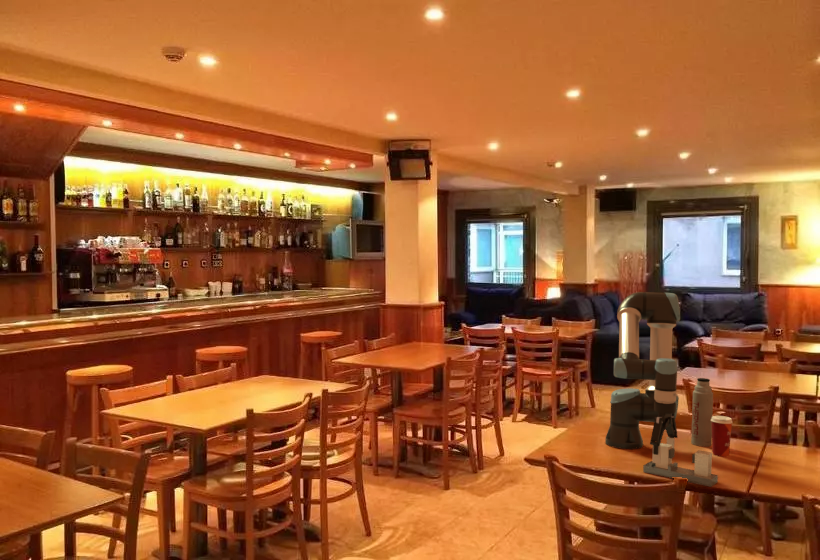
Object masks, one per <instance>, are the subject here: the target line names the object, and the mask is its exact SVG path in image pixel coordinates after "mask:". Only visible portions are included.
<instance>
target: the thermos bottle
mask: <svg viewBox="0 0 820 560" xmlns="http://www.w3.org/2000/svg"><path fill="white" fill-rule="evenodd" d="M710 382H711V379H709V378H707V377H706V378H704V377H698V378H697V381H696V385H694V390H693V391H692V407H691V409H692V410H691V414H692V417H691V418H692V419H691V439H690V440H691V441H690V442H691V443H690V444H692V445H694V446H698V447H707V448H708V447H712V423H711V419H712V416H714V415H713V410H714V407H713V405H714V392H712V386H710Z"/></svg>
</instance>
